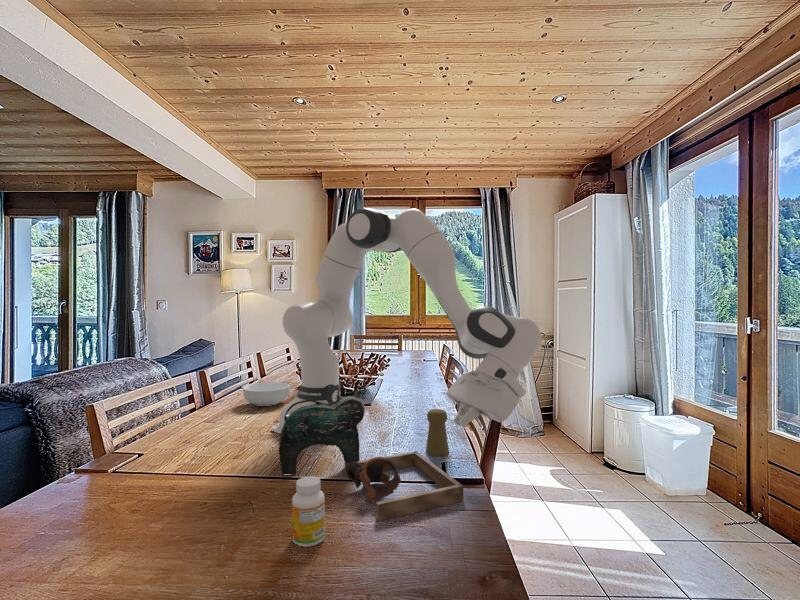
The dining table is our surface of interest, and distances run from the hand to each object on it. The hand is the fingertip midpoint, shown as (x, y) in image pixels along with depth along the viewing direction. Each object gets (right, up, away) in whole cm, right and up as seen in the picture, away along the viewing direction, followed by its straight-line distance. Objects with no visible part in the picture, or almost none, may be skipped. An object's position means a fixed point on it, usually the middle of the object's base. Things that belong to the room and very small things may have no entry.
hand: (458, 424), depth 97 cm
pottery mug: (-19, -12, -8) cm, 24 cm away
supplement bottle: (-29, -12, -24) cm, 40 cm away
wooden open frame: (-13, -12, -6) cm, 19 cm away
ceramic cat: (-31, -12, +4) cm, 34 cm away
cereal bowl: (-63, -12, +66) cm, 92 cm away
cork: (-4, -12, +15) cm, 19 cm away
